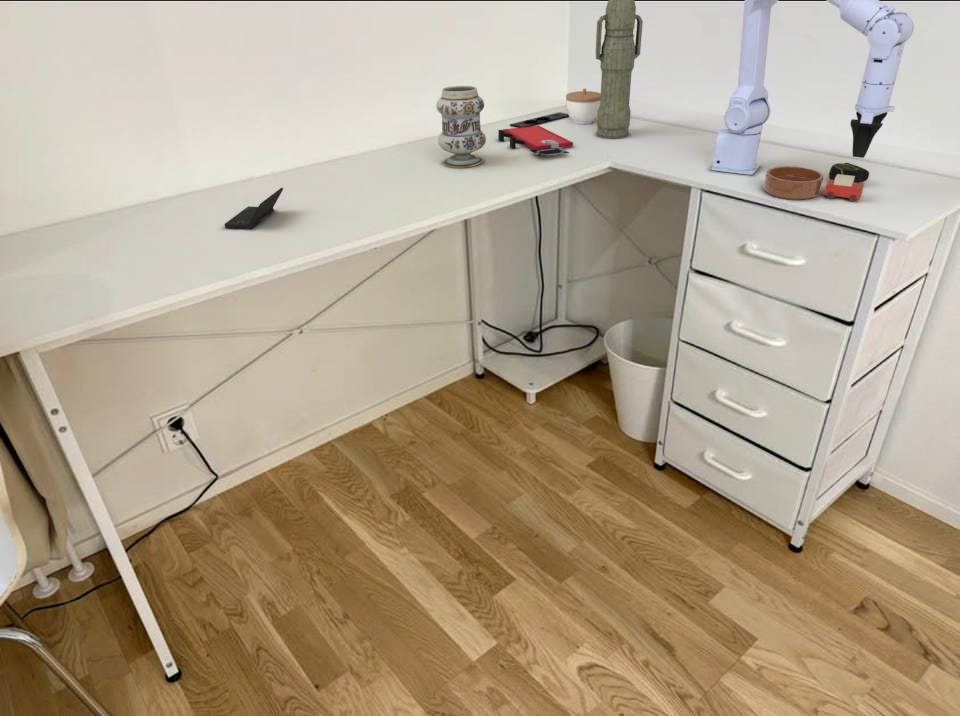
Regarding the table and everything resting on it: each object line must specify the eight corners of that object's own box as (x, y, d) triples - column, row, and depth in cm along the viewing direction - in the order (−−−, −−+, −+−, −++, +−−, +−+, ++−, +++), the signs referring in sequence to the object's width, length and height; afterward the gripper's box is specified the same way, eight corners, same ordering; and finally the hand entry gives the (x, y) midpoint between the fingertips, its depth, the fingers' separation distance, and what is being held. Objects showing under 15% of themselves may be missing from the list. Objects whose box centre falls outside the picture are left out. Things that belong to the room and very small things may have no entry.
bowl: (758, 196, 149) (761, 177, 147) (769, 181, 157) (772, 163, 155) (814, 203, 144) (818, 184, 142) (823, 188, 152) (827, 170, 150)
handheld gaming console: (237, 203, 151) (256, 168, 146) (267, 221, 153) (287, 187, 148) (221, 230, 142) (240, 193, 137) (253, 248, 145) (274, 213, 139)
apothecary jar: (478, 153, 184) (475, 81, 175) (492, 166, 174) (491, 90, 165) (434, 159, 181) (429, 86, 172) (446, 171, 171) (441, 95, 162)
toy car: (823, 197, 147) (827, 177, 144) (826, 192, 149) (830, 172, 147) (858, 202, 144) (864, 182, 141) (861, 197, 146) (866, 176, 144)
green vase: (639, 136, 194) (651, -5, 175) (599, 140, 191) (607, -3, 173) (625, 129, 201) (635, -8, 183) (587, 133, 199) (593, -5, 180)
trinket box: (564, 125, 207) (565, 92, 202) (566, 117, 216) (567, 85, 211) (600, 126, 205) (602, 92, 200) (601, 117, 214) (603, 85, 209)
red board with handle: (532, 160, 176) (586, 154, 180) (533, 149, 174) (586, 143, 178) (490, 135, 200) (538, 130, 204) (490, 125, 199) (538, 120, 203)
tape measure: (868, 185, 152) (872, 168, 150) (842, 189, 151) (846, 172, 149) (845, 176, 158) (849, 160, 156) (820, 180, 156) (824, 163, 154)
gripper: (898, 90, 129) (878, 163, 136) (904, 77, 140) (885, 145, 147) (856, 88, 133) (839, 159, 140) (865, 74, 143) (848, 142, 150)
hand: (860, 152), depth 144 cm, fingers open, 7 cm apart
